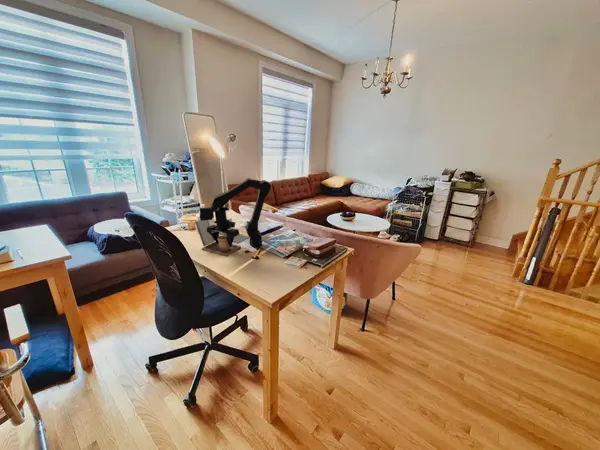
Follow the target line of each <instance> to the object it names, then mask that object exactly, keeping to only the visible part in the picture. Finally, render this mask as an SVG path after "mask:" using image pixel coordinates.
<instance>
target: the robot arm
mask: <svg viewBox="0 0 600 450" xmlns="http://www.w3.org/2000/svg"><path fill="white" fill-rule="evenodd" d="M249 188H252V189H257V198H256V201H255V204H254V207H253V208H254V209H253V211H252V215H251V219H250V220H247V221H246V225H245V227H244V228H245V231H246V234H247V236H249V237H250V238H249V246H250V247H251V248H257V249H258V248H259V249H260V248H261V247H262V246H263V239H262V238H263V237H262V233H261V232H260V229H259V221H260V217H261V214H262V210H263V206H264V203H265V200H266V198H267V197H268V195H269V193H270V191H271V189H272V185H271V184H270V182H268V181H267V180H266V179H262V180H258V179H251V178H249V177H248V178H246V179H245V180H243V181H242V182H240V183H239V184H237V185H236V186H234V187H232V188H230V189H229V190H226V191H225V192H222V193H219V194H216V195H215V196H214V197H213V200H212V203H211V204H210V206H209V207H204V208H202V207H199V211H200V220H201V221H205V220H212V219H214V218H215V220H214V223H215V224H216V225H212V226H209V227H207V232H208V233H209V234H210V235H211V236H212V237H213V238H214V240H215V242H216V243H217V244H219V241H218V237H219V236H220V234H219V232H222V233H226V234H225V235H227V237H226V238H227V241H228V244H229V246H230V247H231V246H232V244H233V243H234V242H233V240H234V237H235V236H237V235H240V230H239V229H237V228H236V221H232V222H231V221H229V220H228V219H227V218H228V216H227V212H229V211H230V208H229V207H228V206H227V205H226V204H228V203H229V202H230V200H232V199H233V198H234V197H236V196H238V195H239V194H241V193H243V192H244V191H246V190H247V189H249ZM230 227H233V229H231V230H228V229H230Z"/></svg>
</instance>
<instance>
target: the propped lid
mask: <svg viewBox="0 0 600 450" xmlns="http://www.w3.org/2000/svg"><path fill="white" fill-rule="evenodd" d="M194 222H195V225H196V226H197V229H198V232H199V234H198V235H199V237H200V240H201V244H202V247H205V246H207V245H209V244H211V243H213V242H216V241H215V240H214V238H213V237H212V236H211V235H210V234H209V233H208V232H207V227H209V226H210V225H209V222H208V220H205V221H201V220H198V221H194ZM196 226H195V227H196Z"/></svg>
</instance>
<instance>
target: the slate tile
mask: <svg viewBox="0 0 600 450" xmlns="http://www.w3.org/2000/svg"><path fill="white" fill-rule="evenodd" d="M248 239H250V237H249V236H248V235H242V234H239V235H237V236H235V237H234V240H233V243H234V244H240V243H241V242H243V241H245V240H248Z"/></svg>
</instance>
